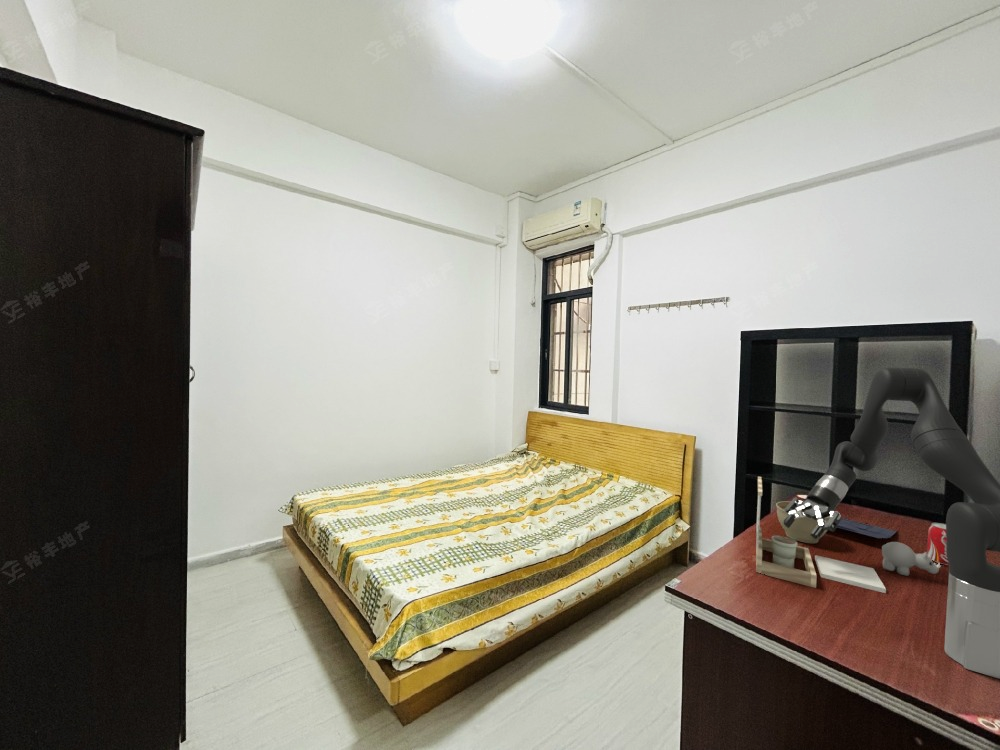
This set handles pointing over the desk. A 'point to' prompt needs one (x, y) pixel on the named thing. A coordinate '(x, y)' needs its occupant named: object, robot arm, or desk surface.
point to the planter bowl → (798, 525)
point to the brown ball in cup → (784, 551)
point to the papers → (865, 529)
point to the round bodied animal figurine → (905, 559)
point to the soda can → (937, 543)
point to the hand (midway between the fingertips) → (799, 531)
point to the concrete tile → (849, 573)
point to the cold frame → (779, 570)
